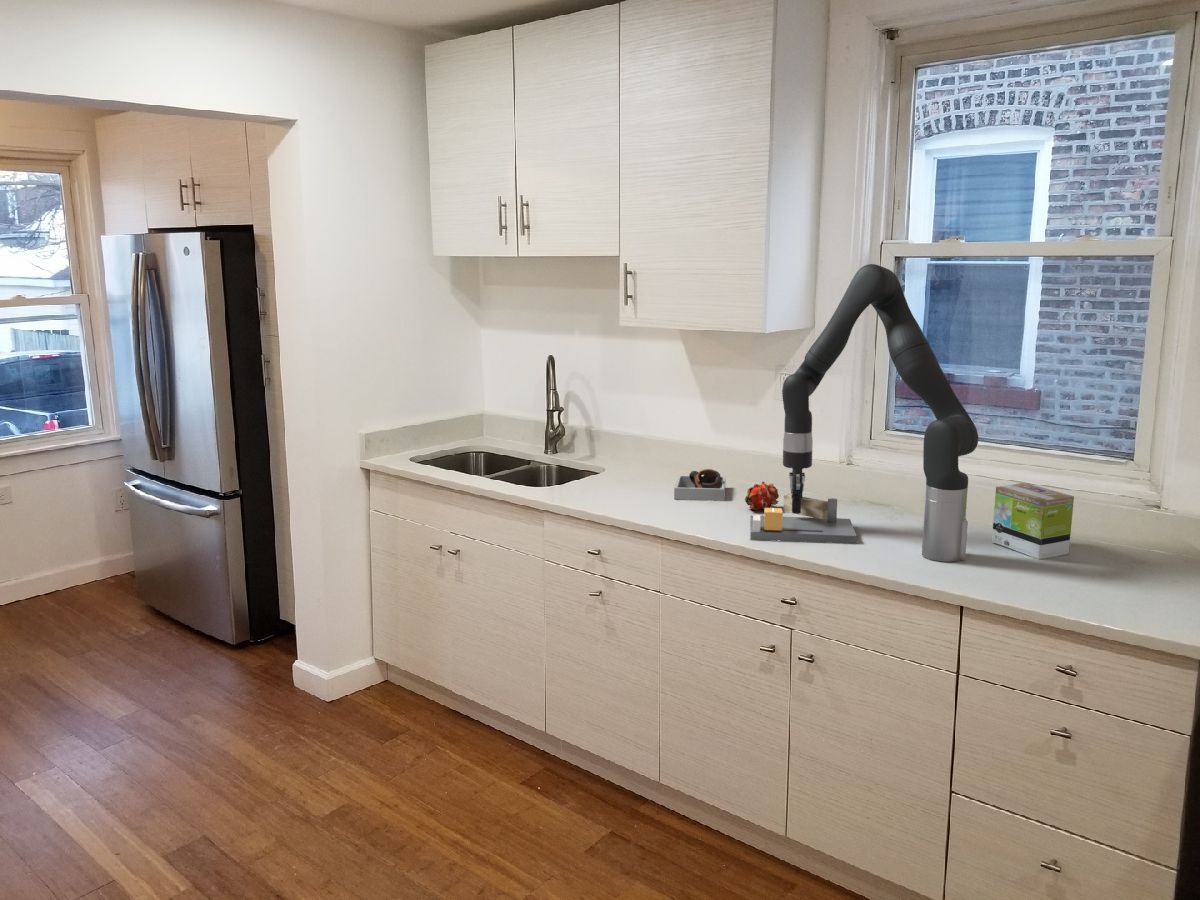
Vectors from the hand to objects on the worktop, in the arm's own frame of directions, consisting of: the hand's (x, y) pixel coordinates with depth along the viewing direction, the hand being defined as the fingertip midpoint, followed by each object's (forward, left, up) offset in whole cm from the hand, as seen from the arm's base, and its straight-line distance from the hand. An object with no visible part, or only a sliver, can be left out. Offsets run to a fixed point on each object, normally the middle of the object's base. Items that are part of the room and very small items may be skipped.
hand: (796, 512), depth 251 cm
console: (-1, +6, -4) cm, 7 cm away
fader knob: (+6, +11, -1) cm, 13 cm away
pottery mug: (+26, -35, -4) cm, 43 cm away
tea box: (-55, +13, -4) cm, 57 cm away
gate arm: (-2, -3, -1) cm, 4 cm away
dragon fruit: (+9, -16, -4) cm, 18 cm away
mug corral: (+27, -33, -4) cm, 42 cm away
